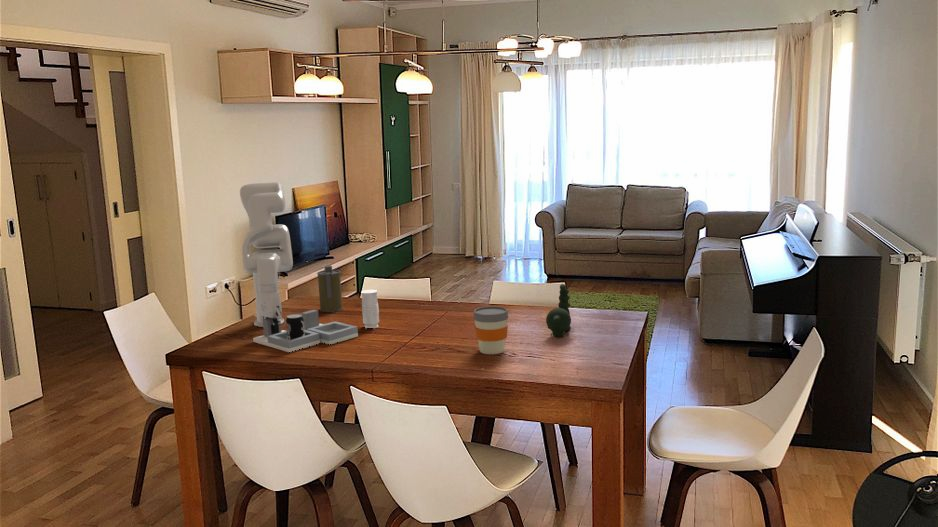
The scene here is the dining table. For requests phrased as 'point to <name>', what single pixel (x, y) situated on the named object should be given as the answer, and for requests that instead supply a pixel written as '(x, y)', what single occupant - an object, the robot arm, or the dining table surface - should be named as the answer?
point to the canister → (330, 290)
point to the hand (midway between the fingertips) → (272, 332)
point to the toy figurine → (560, 315)
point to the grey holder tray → (285, 338)
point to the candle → (370, 308)
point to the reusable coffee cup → (491, 328)
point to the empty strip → (328, 328)
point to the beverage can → (295, 326)
